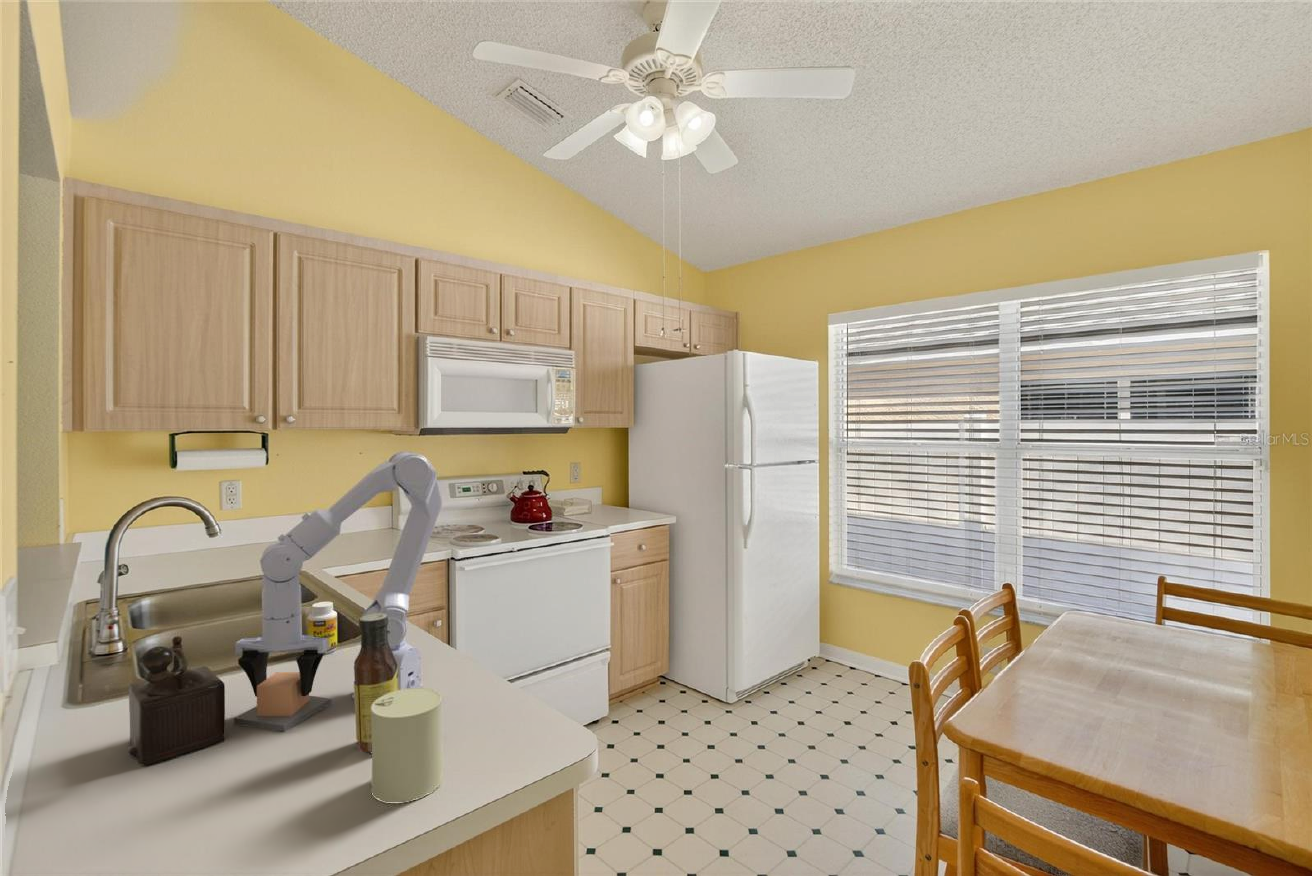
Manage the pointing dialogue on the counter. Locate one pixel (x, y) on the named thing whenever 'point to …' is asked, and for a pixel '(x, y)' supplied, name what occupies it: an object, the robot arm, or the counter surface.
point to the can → (406, 744)
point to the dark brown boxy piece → (174, 707)
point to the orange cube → (280, 695)
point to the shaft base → (282, 721)
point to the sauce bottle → (372, 674)
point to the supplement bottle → (323, 623)
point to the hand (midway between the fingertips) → (283, 693)
